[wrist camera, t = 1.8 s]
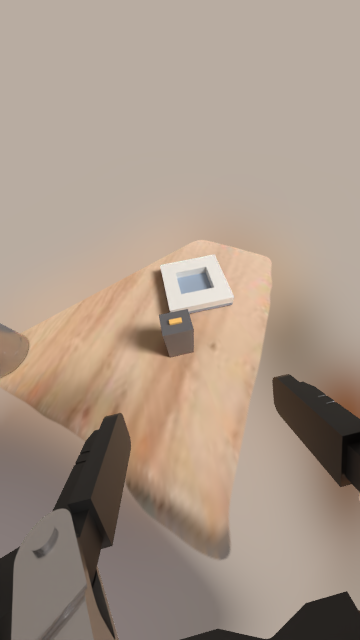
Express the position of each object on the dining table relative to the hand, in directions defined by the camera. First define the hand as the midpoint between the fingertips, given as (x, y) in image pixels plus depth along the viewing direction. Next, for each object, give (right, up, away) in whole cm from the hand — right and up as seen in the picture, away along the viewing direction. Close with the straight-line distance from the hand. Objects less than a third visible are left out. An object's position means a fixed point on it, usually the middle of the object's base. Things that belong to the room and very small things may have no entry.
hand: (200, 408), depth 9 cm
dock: (+2, +12, +31) cm, 33 cm away
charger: (-1, 0, +24) cm, 24 cm away
